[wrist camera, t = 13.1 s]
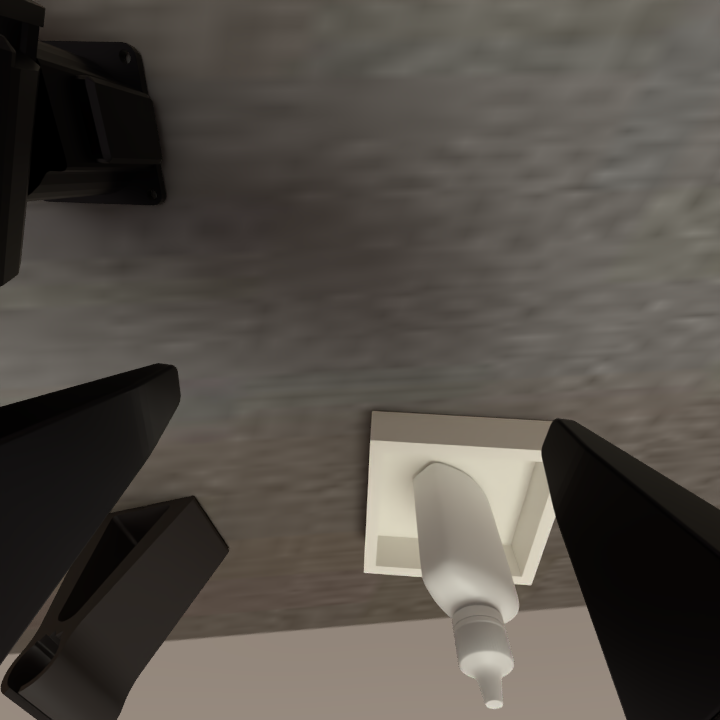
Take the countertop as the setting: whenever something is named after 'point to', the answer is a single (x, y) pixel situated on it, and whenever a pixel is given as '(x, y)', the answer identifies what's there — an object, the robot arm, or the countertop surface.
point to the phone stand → (115, 611)
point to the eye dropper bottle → (467, 573)
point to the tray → (474, 458)
